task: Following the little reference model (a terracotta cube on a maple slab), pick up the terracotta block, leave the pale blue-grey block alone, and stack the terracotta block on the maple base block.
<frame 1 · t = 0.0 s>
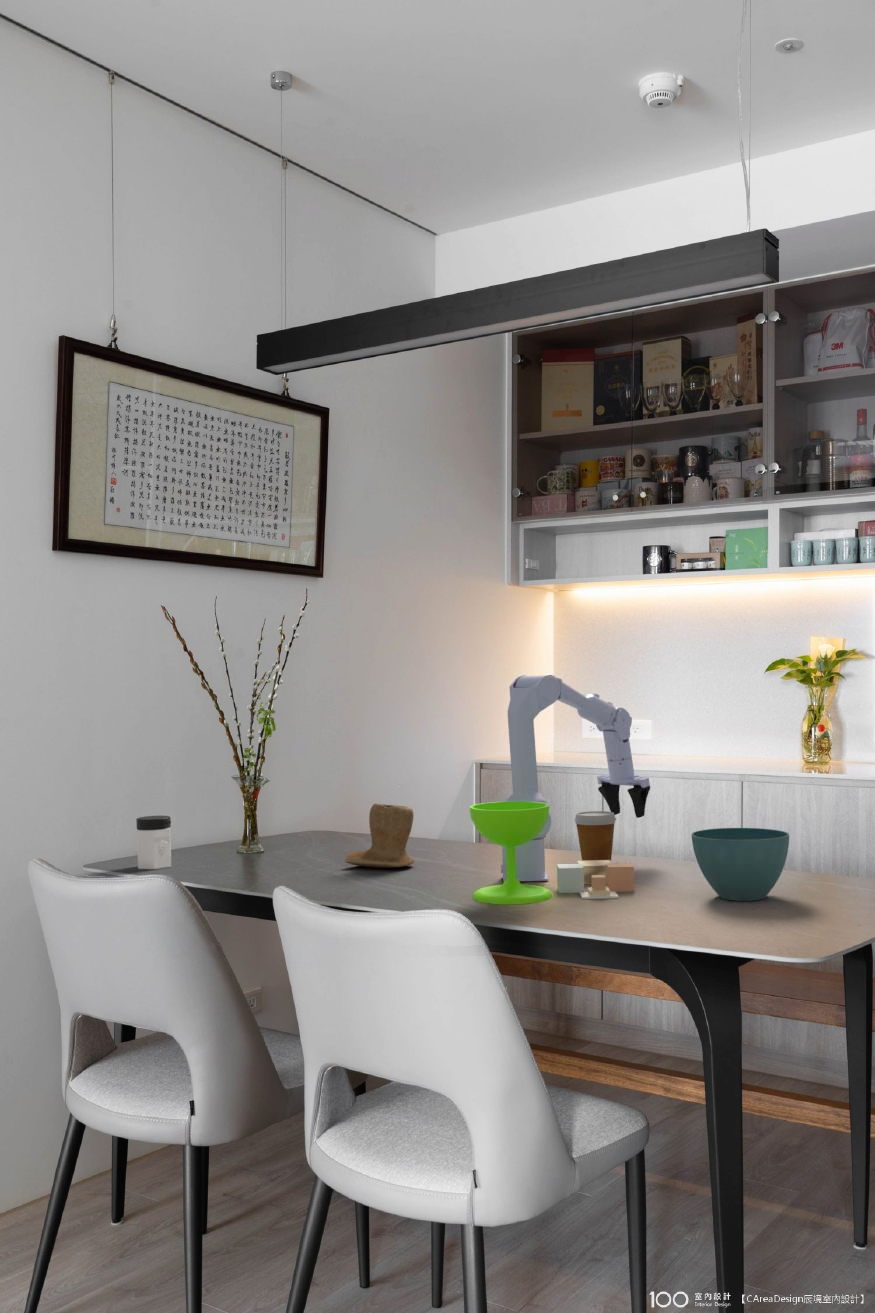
hand: (628, 815, 266), 11 cm above the table, tool pointing down, fingers open, 7 cm apart
terracotta block: (620, 889, 232), on the table
dark teal bowl: (742, 898, 220), on the table
disposable coffee cup: (596, 867, 260), on the table
reference model: (599, 896, 225), on the table
wineglass: (512, 897, 227), on the table
jar: (154, 867, 279), on the table
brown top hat: (384, 867, 269), on the table
maple base block: (595, 882, 242), on the table
grey block: (570, 890, 232), on the table
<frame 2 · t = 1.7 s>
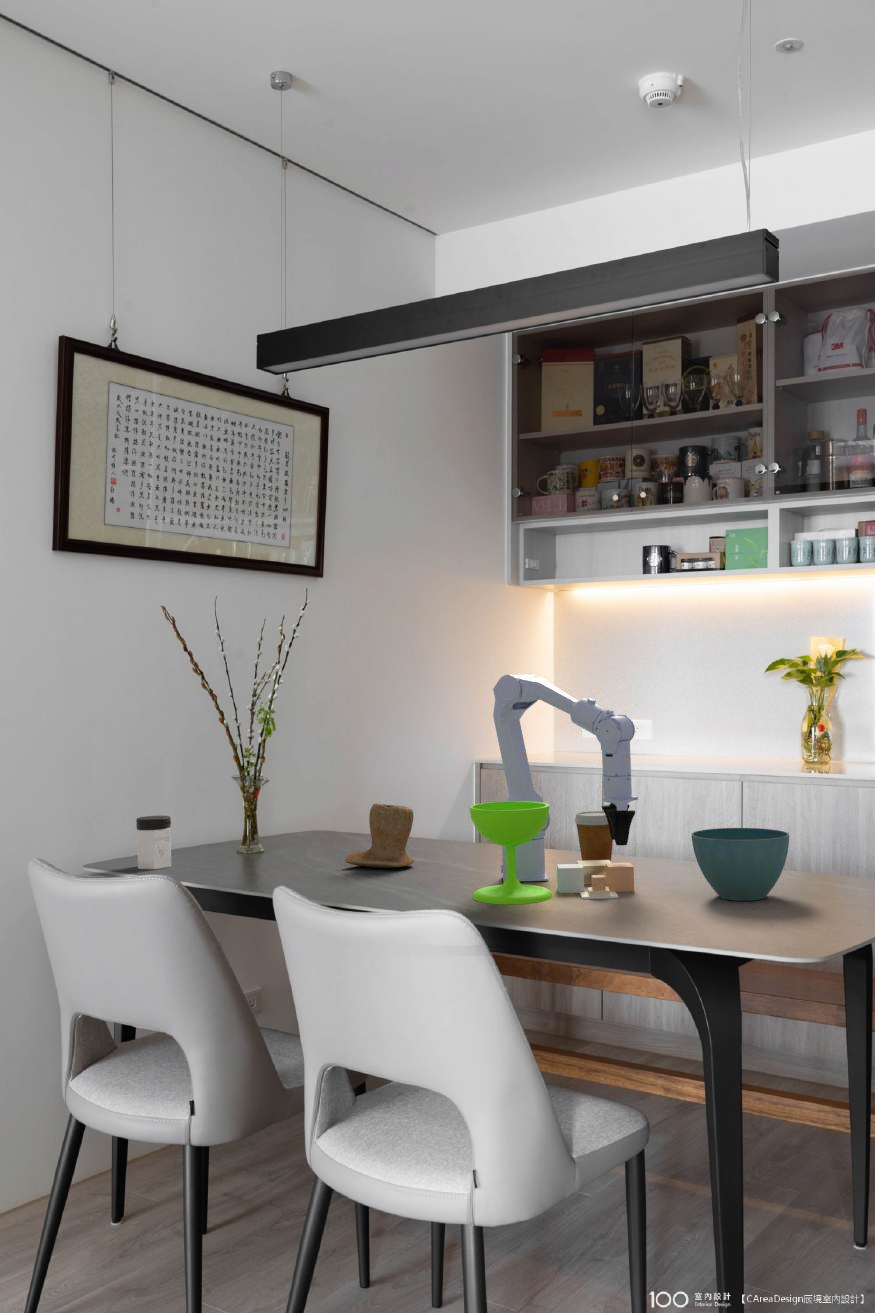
hand: (619, 842, 232), 9 cm above the table, tool pointing down, fingers open, 7 cm apart
nothing on the table moved.
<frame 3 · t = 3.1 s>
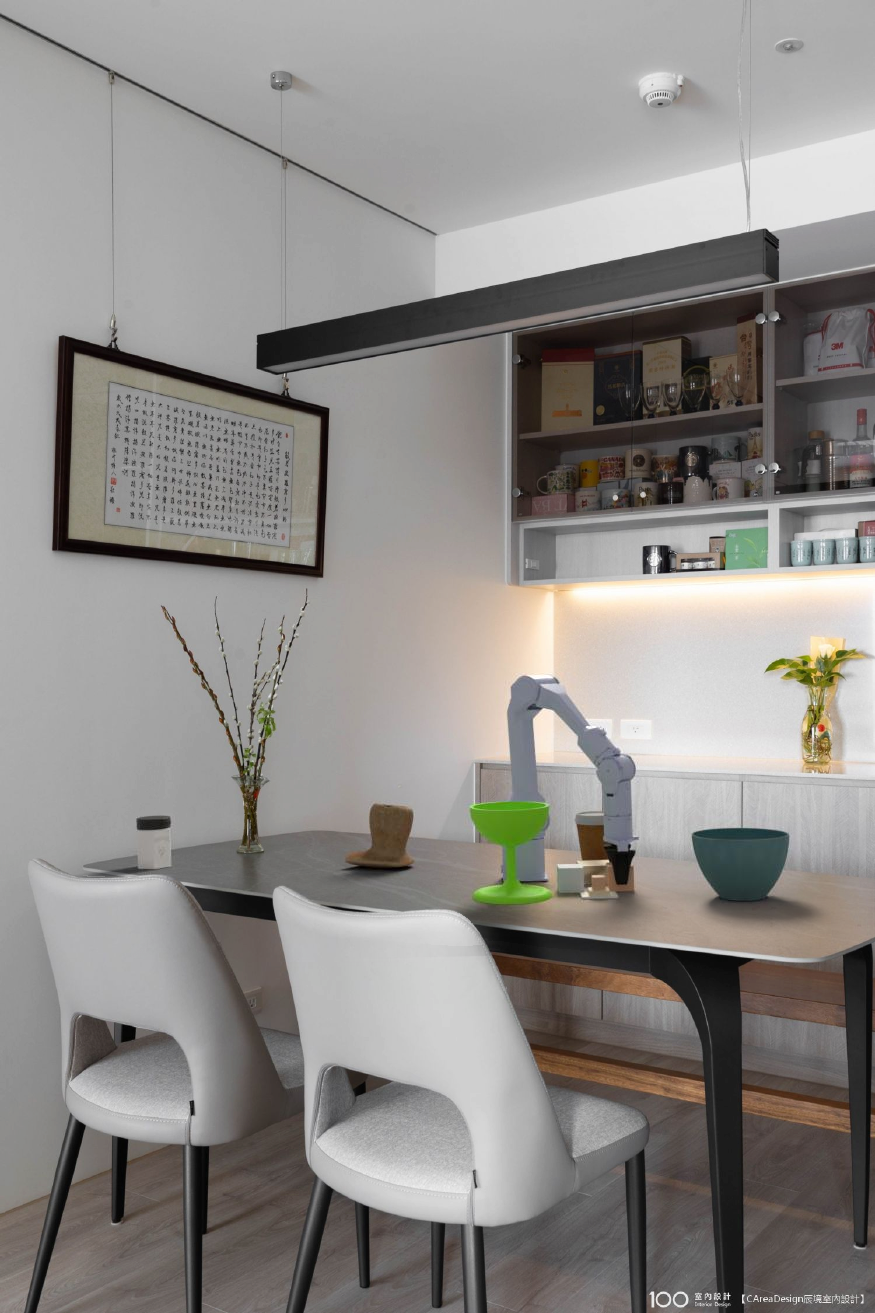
hand: (620, 882, 232), 1 cm above the table, tool pointing down, fingers closed on terracotta block, 5 cm apart
terracotta block: (620, 889, 232), on the table, touching gripper
everything else where it was.
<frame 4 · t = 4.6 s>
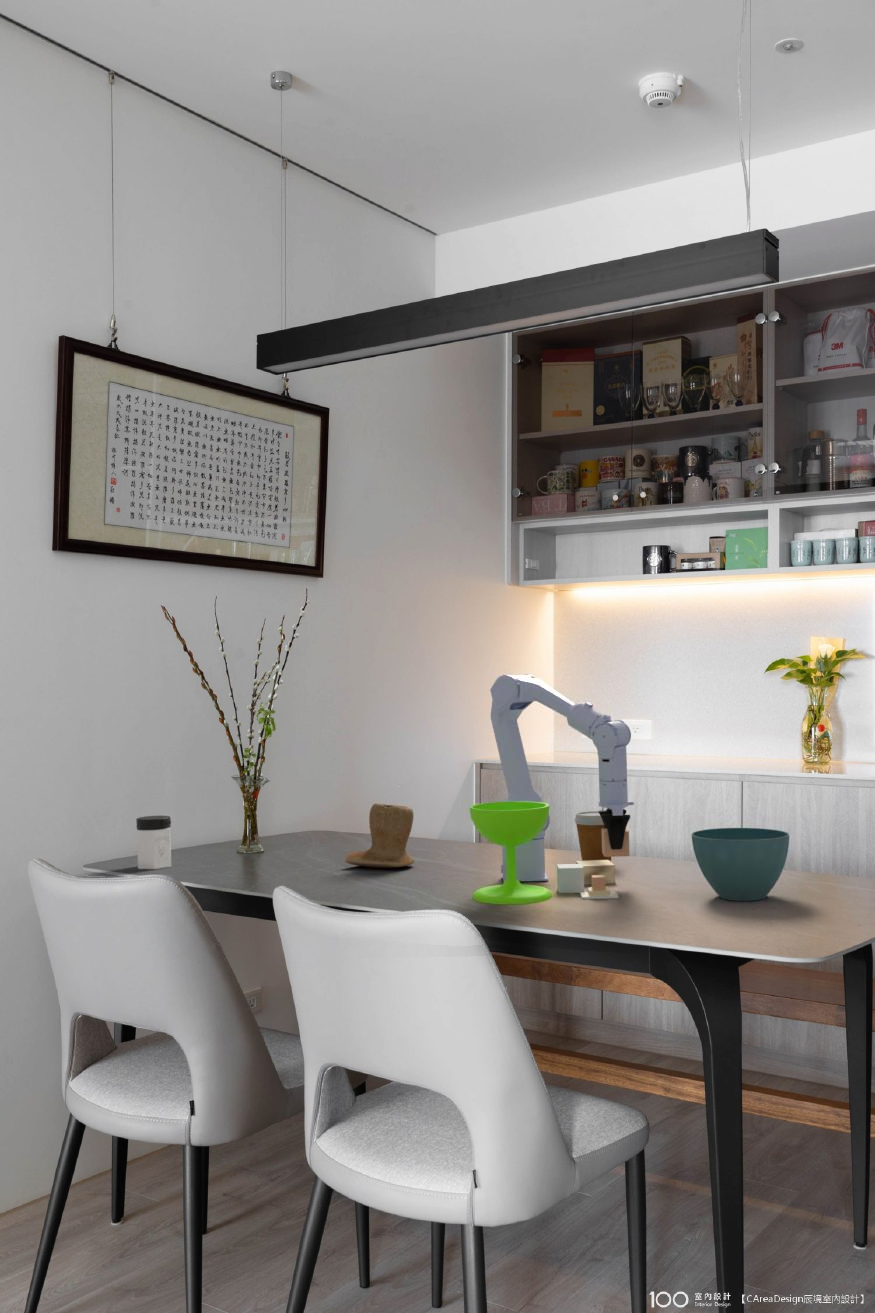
hand: (615, 847, 233), 8 cm above the table, tool pointing down, fingers closed on terracotta block, 5 cm apart
terracotta block: (615, 854, 233), point 7 cm above the table, touching gripper
everything else where it was.
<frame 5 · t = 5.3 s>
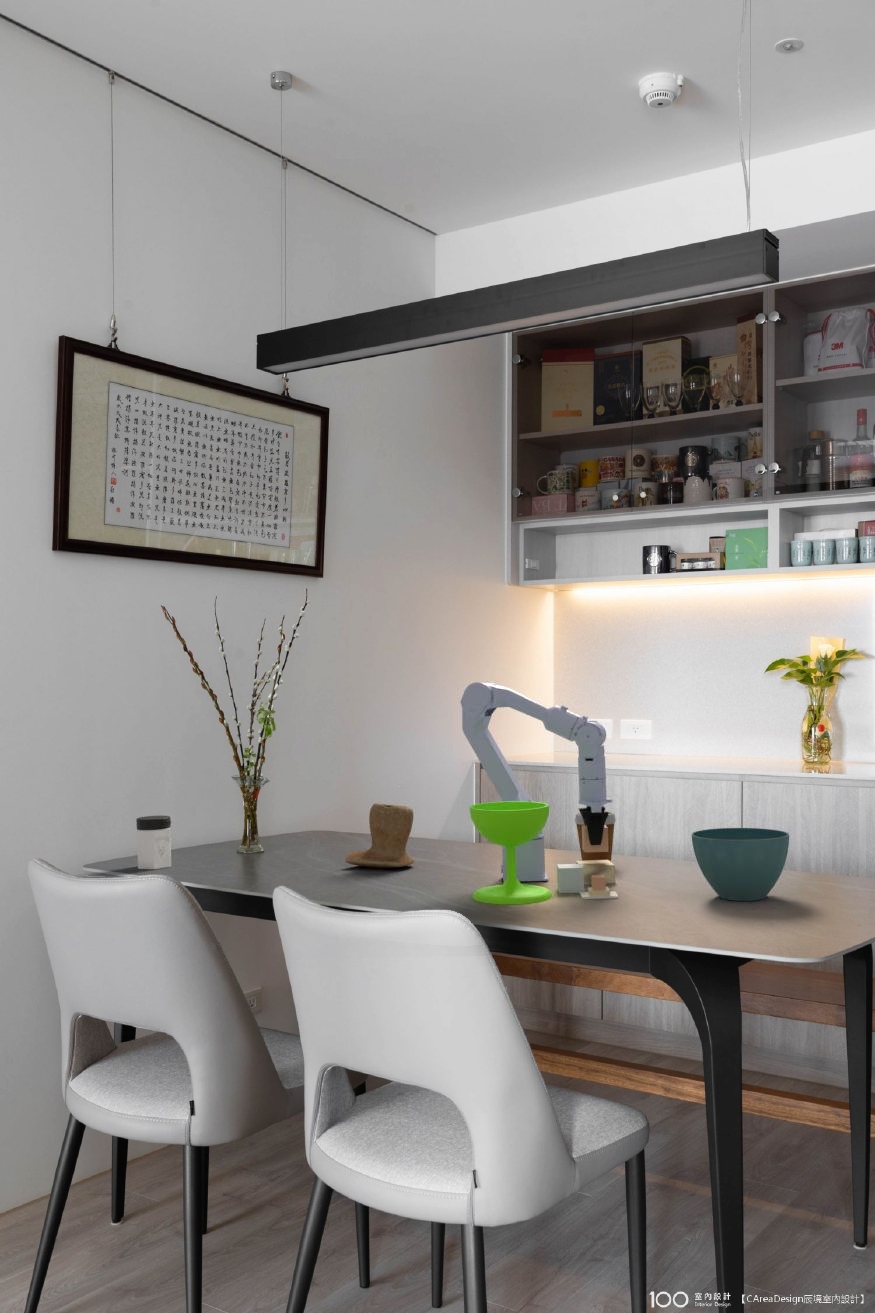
hand: (594, 843, 242), 8 cm above the table, tool pointing down, fingers closed on terracotta block, 5 cm apart
terracotta block: (595, 850, 242), point 6 cm above the table, touching gripper
everything else where it was.
when the fingers open (7 cm above the table, at t = 6.0 s): terracotta block drops 2 cm, point 4 cm above the table.
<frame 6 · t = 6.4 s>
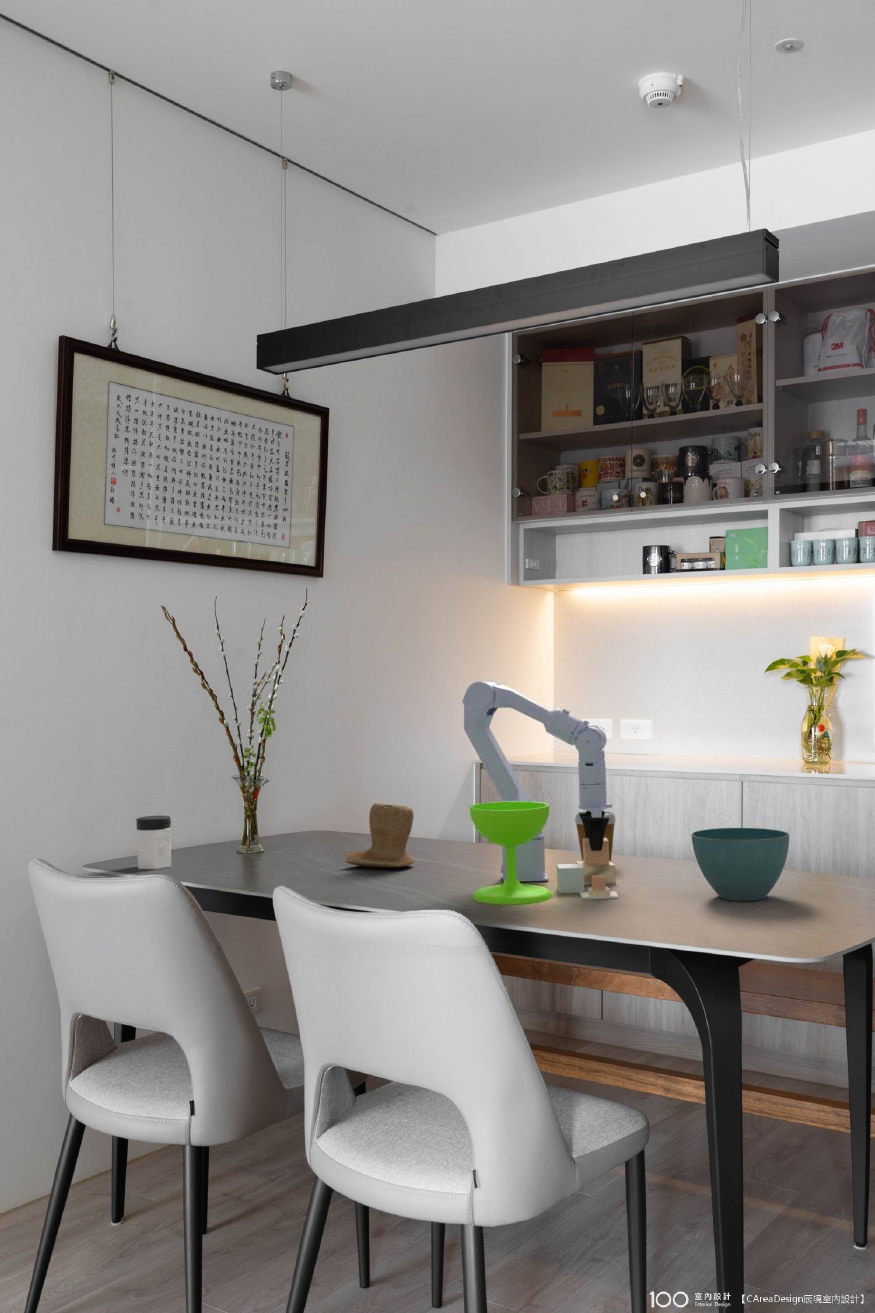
hand: (594, 848, 242), 7 cm above the table, tool pointing down, fingers open, 7 cm apart
terracotta block: (596, 863, 242), point 4 cm above the table
everything else where it was.
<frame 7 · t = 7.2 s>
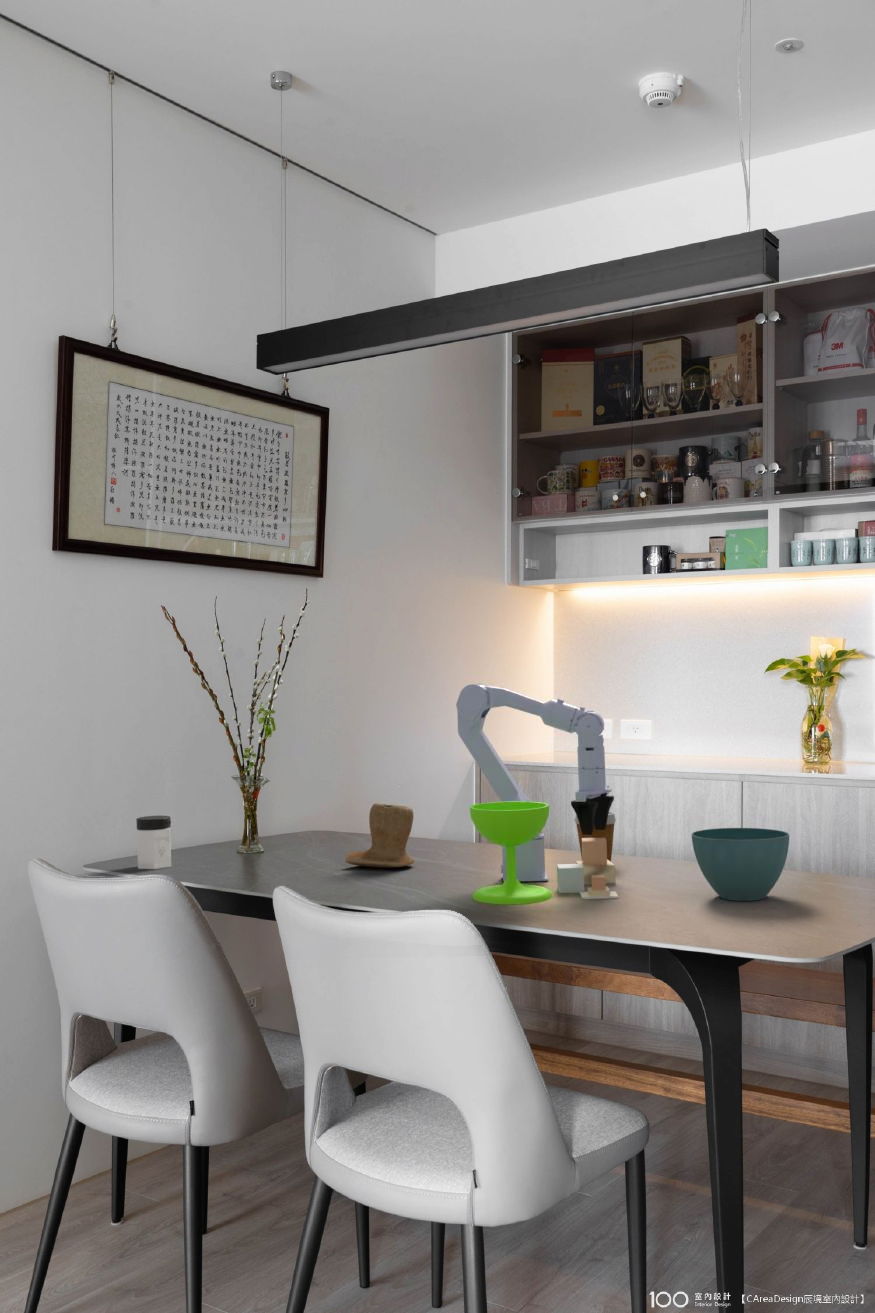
hand: (594, 832, 243), 10 cm above the table, tool pointing down, fingers open, 7 cm apart
terracotta block: (594, 863, 242), point 4 cm above the table, touching maple base block
maple base block: (595, 882, 242), on the table, touching terracotta block
everything else where it was.
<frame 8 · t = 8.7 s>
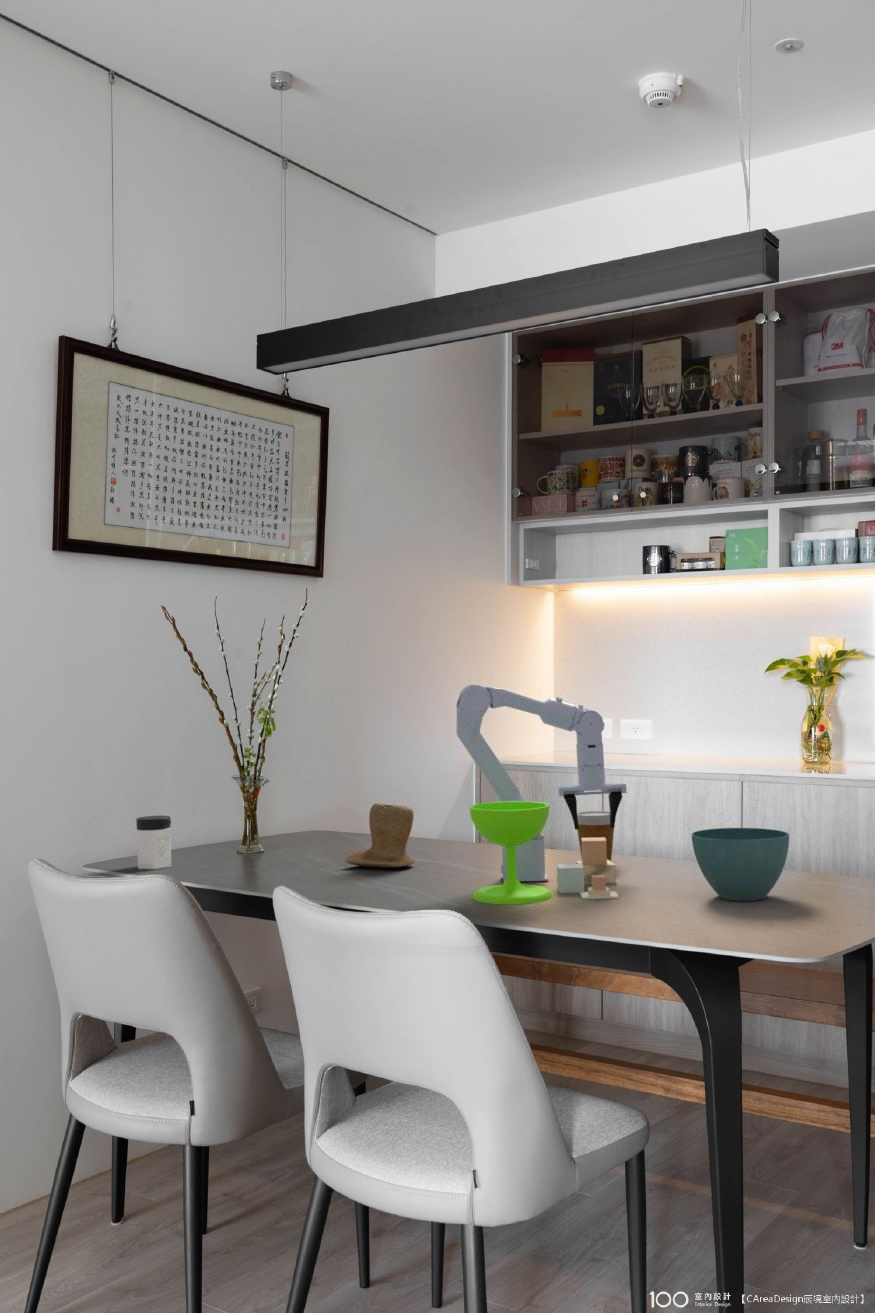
hand: (594, 828, 247), 10 cm above the table, tool pointing down, fingers open, 7 cm apart
nothing on the table moved.
at the end: terracotta block 0.2 cm off-centre on the maple base block, point 4.0 cm above the maple base block's base; terracotta block tilted 0°; grey block moved 0.1 cm from its start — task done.
